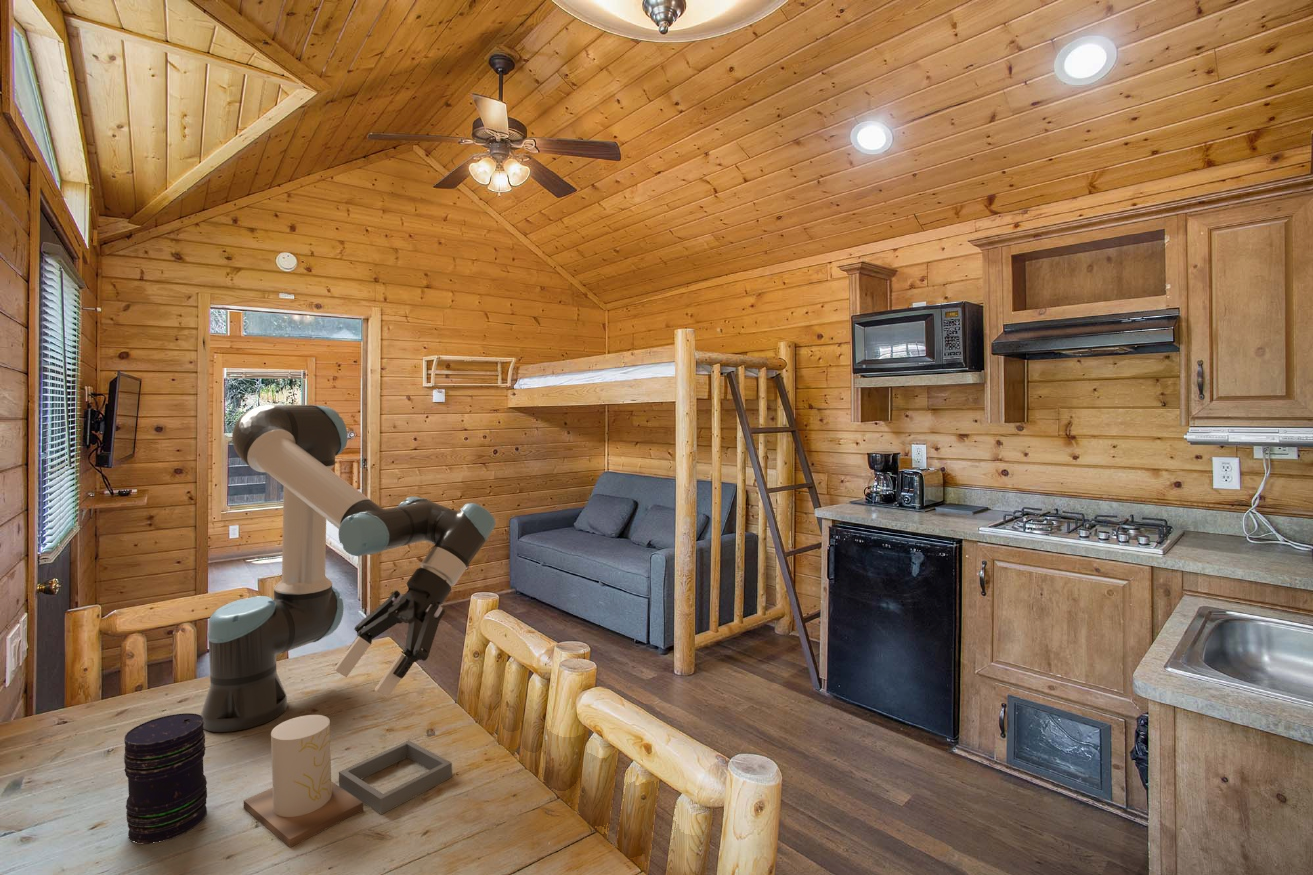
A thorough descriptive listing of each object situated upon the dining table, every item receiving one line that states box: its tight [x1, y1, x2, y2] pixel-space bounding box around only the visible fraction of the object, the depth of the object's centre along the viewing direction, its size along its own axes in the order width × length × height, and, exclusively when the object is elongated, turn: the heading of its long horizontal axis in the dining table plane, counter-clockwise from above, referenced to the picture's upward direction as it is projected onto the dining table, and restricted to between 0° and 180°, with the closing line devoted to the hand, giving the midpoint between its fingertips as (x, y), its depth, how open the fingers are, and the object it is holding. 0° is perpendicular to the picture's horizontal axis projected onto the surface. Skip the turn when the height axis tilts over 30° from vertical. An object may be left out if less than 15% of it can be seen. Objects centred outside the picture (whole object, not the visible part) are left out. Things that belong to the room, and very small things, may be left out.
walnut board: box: [243, 780, 364, 848], centre depth 103 cm, size 16×11×1 cm
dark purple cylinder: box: [123, 712, 208, 844], centre depth 99 cm, size 10×10×15 cm
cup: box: [270, 714, 332, 817], centre depth 103 cm, size 8×8×12 cm
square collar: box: [338, 739, 453, 815], centre depth 110 cm, size 13×13×2 cm
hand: (359, 683), depth 110 cm, fingers open, 13 cm apart
